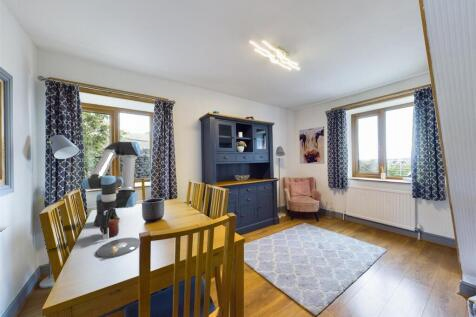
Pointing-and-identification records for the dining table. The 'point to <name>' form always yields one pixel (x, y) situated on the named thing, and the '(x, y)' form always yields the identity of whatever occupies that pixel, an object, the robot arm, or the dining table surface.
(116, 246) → the seat disc
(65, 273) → the dining table surface
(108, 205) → the robot arm
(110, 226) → the mug
